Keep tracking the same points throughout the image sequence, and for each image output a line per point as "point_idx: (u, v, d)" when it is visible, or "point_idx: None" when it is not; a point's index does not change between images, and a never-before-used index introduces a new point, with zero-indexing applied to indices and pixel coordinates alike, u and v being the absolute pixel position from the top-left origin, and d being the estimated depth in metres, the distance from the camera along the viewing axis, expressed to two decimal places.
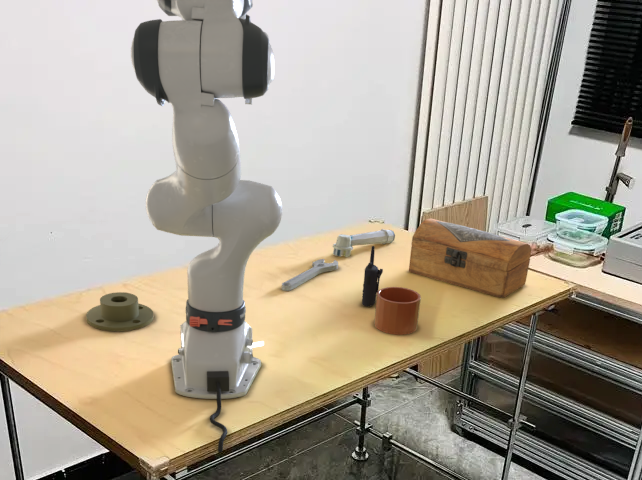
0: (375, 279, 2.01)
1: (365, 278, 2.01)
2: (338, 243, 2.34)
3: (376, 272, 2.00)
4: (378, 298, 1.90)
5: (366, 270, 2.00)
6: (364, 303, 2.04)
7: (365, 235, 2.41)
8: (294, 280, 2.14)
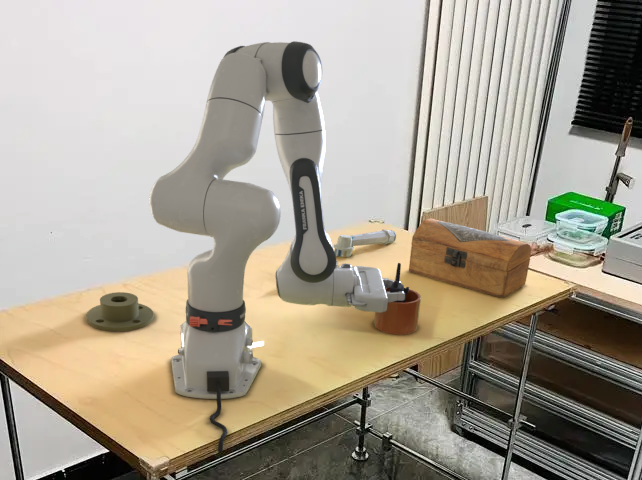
0: None
1: None
2: (339, 243, 2.34)
3: (402, 290, 1.89)
4: None
5: (392, 288, 1.88)
6: None
7: (366, 235, 2.40)
8: None
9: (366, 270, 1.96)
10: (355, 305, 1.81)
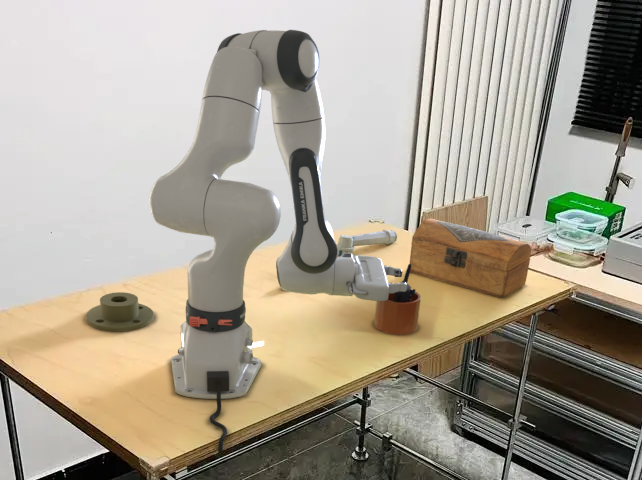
0: (406, 299, 1.89)
1: (395, 296, 1.89)
2: (340, 244, 2.34)
3: (408, 292, 1.89)
4: None
5: None
6: None
7: (367, 236, 2.40)
8: None
9: (367, 259, 1.95)
10: (356, 294, 1.79)
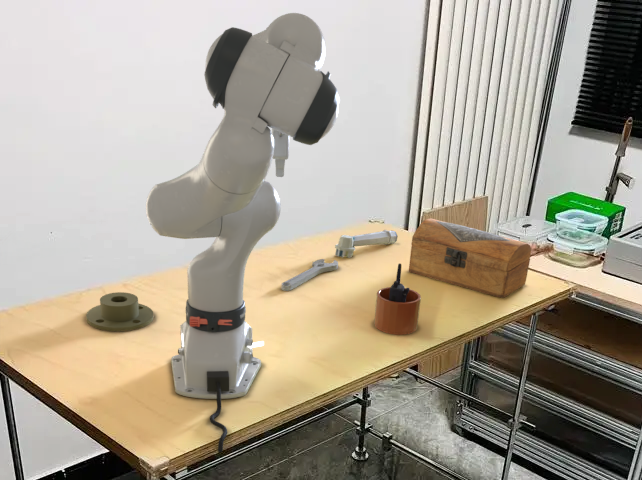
0: (401, 298, 1.89)
1: (390, 297, 1.89)
2: (340, 244, 2.33)
3: (402, 291, 1.89)
4: (378, 298, 1.90)
5: (391, 289, 1.88)
6: None
7: (367, 236, 2.40)
8: (294, 280, 2.14)
9: None
10: None
